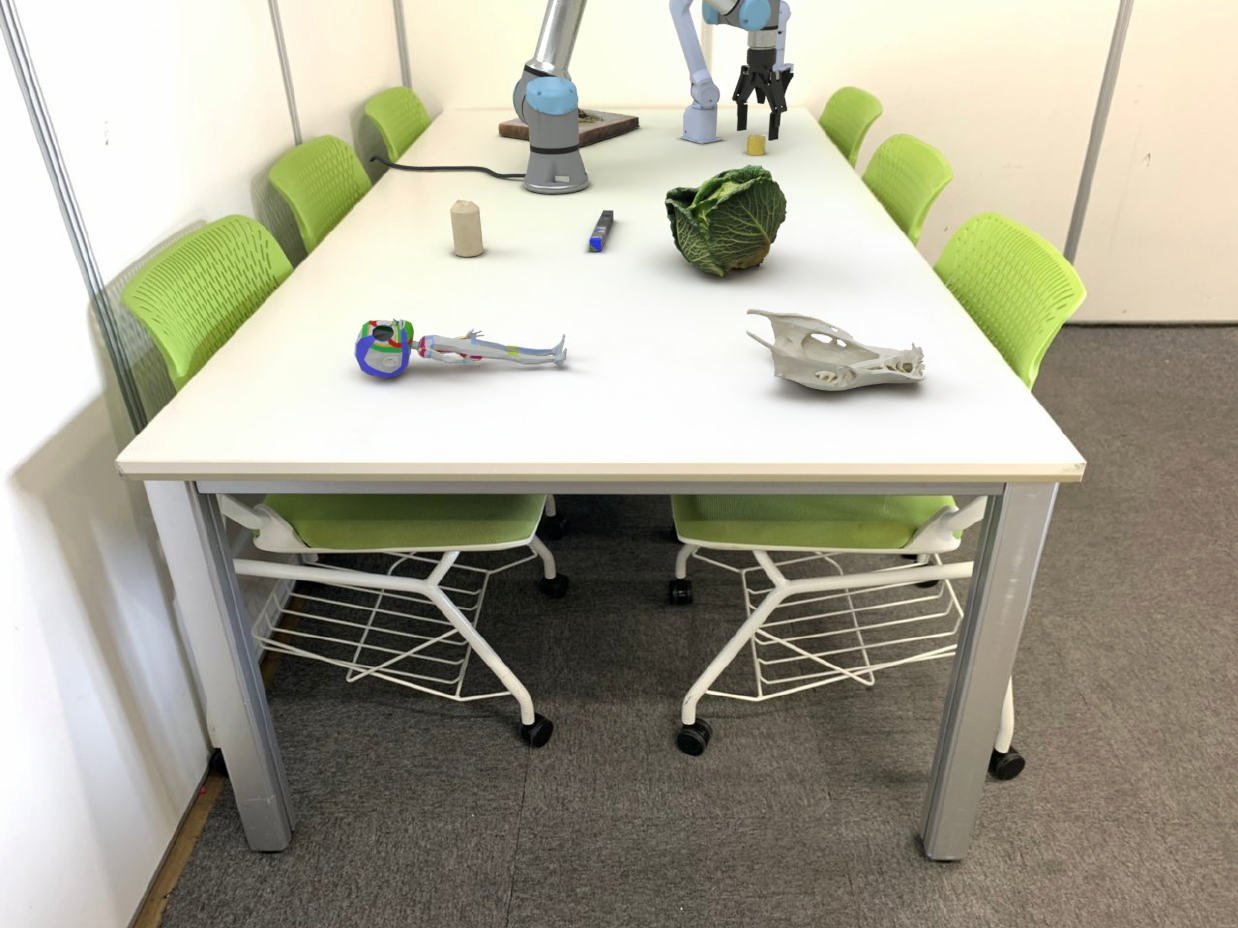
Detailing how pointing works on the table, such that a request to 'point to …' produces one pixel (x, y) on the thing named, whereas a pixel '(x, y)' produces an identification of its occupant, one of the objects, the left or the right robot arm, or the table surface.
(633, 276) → the table surface
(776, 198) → the vegetable
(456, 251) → the candle
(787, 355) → the anatomical model
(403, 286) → the table surface
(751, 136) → the cylinder
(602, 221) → the pillar
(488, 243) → the table surface
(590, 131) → the plaque
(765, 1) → the left robot arm
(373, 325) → the toy
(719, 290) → the table surface
